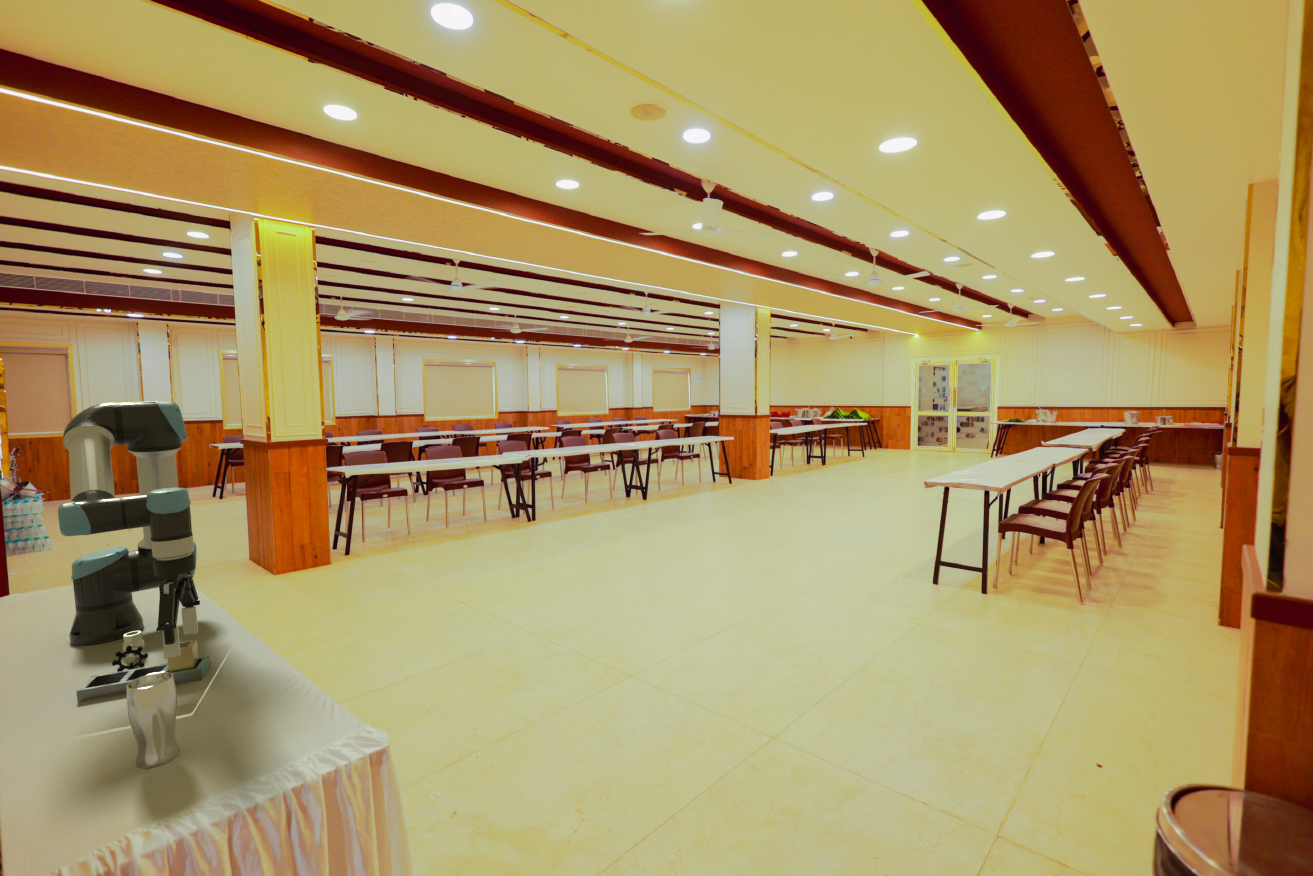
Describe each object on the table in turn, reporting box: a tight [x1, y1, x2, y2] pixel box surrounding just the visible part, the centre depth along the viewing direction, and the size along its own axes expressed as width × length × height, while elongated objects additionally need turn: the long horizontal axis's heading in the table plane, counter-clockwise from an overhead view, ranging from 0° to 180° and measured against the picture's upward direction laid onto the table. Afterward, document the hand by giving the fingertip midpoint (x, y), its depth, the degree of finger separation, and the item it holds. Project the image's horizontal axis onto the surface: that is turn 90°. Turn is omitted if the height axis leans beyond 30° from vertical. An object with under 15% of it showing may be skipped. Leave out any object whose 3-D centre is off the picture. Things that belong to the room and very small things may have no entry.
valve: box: [111, 630, 149, 672], centre depth 148 cm, size 7×7×12 cm
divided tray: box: [75, 656, 211, 703], centre depth 137 cm, size 7×22×3 cm, turn 114°
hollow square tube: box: [167, 639, 199, 673], centre depth 139 cm, size 5×5×8 cm
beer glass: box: [126, 672, 180, 770], centre depth 109 cm, size 7×7×15 cm
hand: (182, 644), depth 139 cm, fingers open, 13 cm apart
